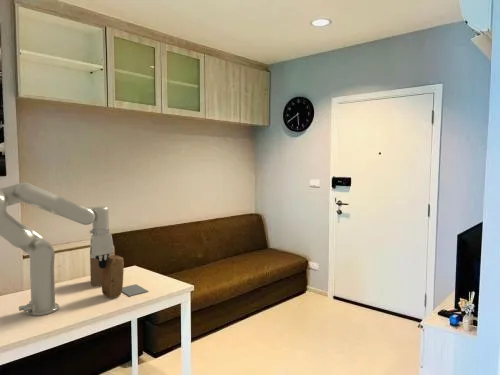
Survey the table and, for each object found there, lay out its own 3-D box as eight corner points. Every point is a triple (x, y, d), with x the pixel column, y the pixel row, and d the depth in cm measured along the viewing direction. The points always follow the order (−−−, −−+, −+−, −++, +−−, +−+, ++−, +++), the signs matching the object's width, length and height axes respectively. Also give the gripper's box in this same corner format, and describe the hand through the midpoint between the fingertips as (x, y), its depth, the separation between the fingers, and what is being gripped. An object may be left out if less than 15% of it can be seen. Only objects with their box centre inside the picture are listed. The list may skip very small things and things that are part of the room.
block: (123, 296, 184) (125, 257, 184) (109, 299, 179) (111, 259, 179) (112, 291, 192) (115, 253, 191) (98, 294, 186) (101, 255, 186)
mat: (129, 296, 185) (129, 295, 184) (117, 289, 195) (117, 288, 195) (148, 291, 192) (148, 290, 192) (136, 285, 202) (136, 284, 202)
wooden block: (108, 285, 200) (107, 249, 199) (90, 285, 200) (89, 249, 199) (115, 279, 210) (114, 245, 209) (98, 279, 210) (97, 245, 209)
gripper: (88, 234, 172) (89, 272, 173) (119, 230, 182) (120, 266, 184) (82, 232, 177) (84, 269, 179) (112, 228, 187) (114, 263, 189)
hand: (102, 267), depth 181 cm, fingers closed
